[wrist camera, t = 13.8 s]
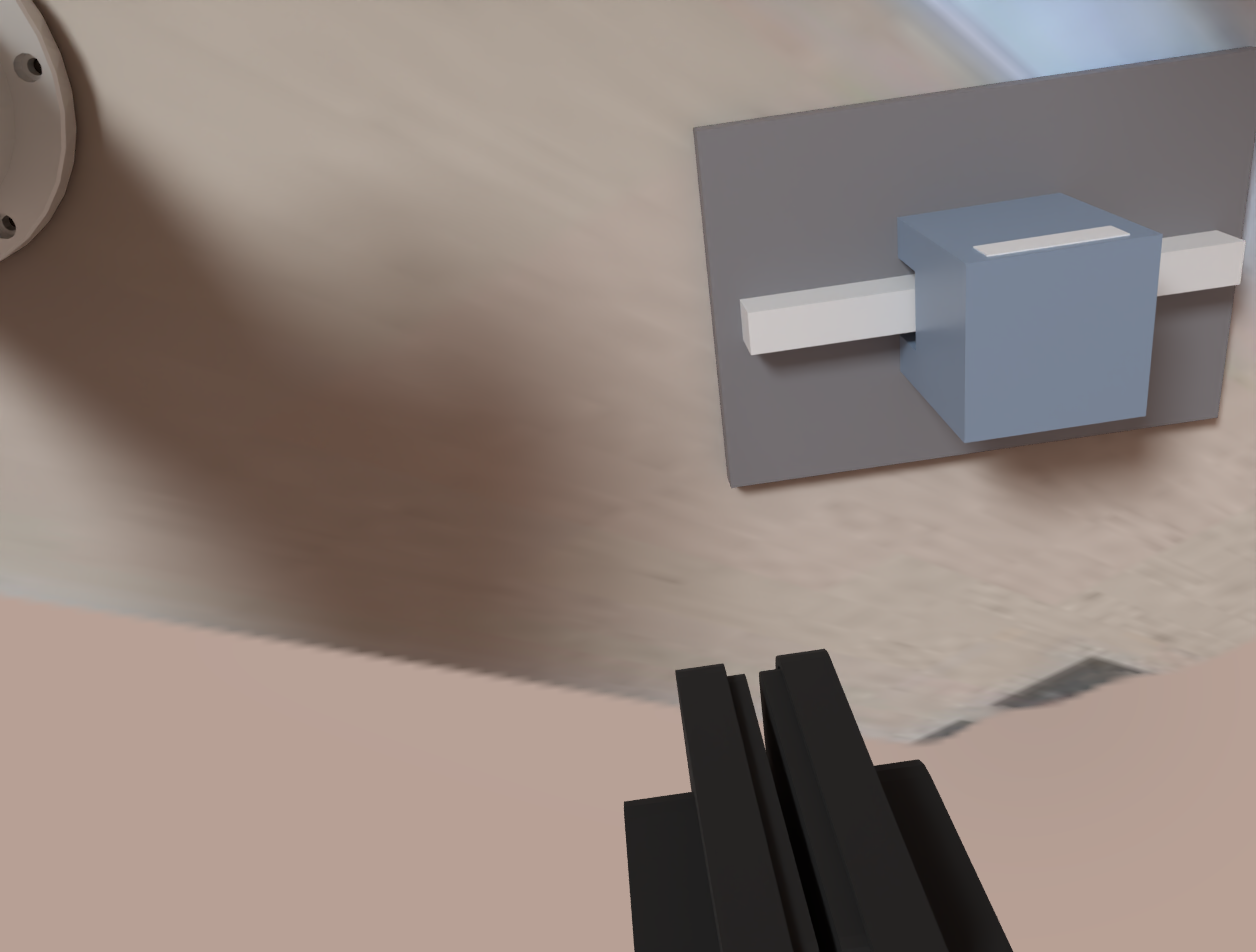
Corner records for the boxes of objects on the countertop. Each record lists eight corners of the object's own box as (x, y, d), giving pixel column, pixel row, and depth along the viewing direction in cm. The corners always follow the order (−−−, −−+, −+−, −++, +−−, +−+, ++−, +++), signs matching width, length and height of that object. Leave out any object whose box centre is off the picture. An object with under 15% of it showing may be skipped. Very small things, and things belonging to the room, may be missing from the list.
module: (900, 372, 40) (964, 444, 33) (897, 215, 37) (965, 262, 31) (1052, 349, 40) (1145, 417, 33) (1060, 191, 37) (1162, 232, 31)
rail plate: (727, 477, 42) (738, 507, 40) (693, 127, 36) (702, 137, 34) (1203, 408, 42) (1244, 435, 40) (1249, 46, 36) (1300, 50, 34)
